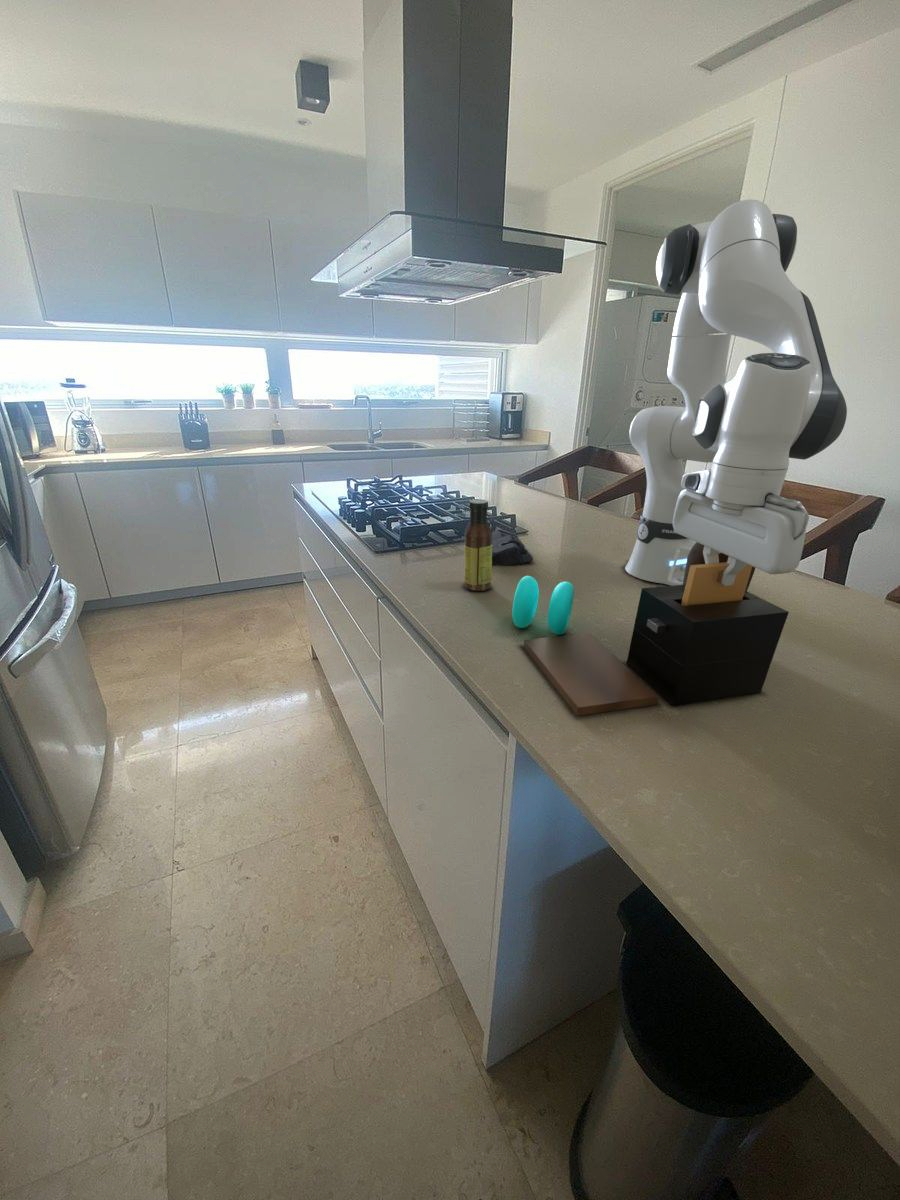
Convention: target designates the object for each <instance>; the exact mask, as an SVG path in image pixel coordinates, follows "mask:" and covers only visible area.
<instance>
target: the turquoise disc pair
mask: <svg viewBox="0 0 900 1200" xmlns="http://www.w3.org/2000/svg"><path fill="white" fill-rule="evenodd" d="M539 595H540V590H539V585H538V581H537V580H536V578H534V577H533V576H532V575H525V576H523V577H521V578H520V579H519V581H518V583H517V586H516V589H515V591H514V597H513V602H512V611H511V613H512V615H511V616H512V621H513V624H514V625H515V626H516V627H517V628H520V629H524V628H527V627H528V626H529V625H531V623H532V622H533V620H534V618H535V615H536V613H537V609H538V604H539V598H540V597H539ZM574 595H575V588H574V585H573V584H572V583H571V582H569V581H561V582H559V583H558V584H557V585H556V586H555V588H554V589H553V590H552V593H551V597H550V601H549V606H548V613H547V625H548V628H549V630H550V631H551V632H552V633H553V634H554V635H558V636H562V635H564V634H565V633H566V632H567V629H569V624H570V620H571V615H572V609H573V603H574Z"/></svg>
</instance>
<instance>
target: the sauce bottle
mask: <svg viewBox="0 0 900 1200" xmlns="http://www.w3.org/2000/svg"><path fill="white" fill-rule="evenodd" d="M468 507H469V522H468V524H467V525H466V527H465V529H464V543H463V547H464V548H463V566H464V567H463V577H464V578H463V581H464V586H465V588H466V589H467V590H469V591H475V592H484V591H488V590H490V588H491V586H492V578H493V577H492V576H493V575H492V573H493V569H492V568H493V565H492V531H493V530H492V528H491V526H490V524H489V522H488V510H489V509H488V508H489V501H488V499H487V500H486V499H481V498H476V499H471V500H469V501H468Z"/></svg>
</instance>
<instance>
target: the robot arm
mask: <svg viewBox="0 0 900 1200" xmlns="http://www.w3.org/2000/svg"><path fill="white" fill-rule="evenodd" d="M797 242H798V225H797V223H796V220H795V219H794V217H792V216H790V215H787V214H780V213H772V210H771V209H770V207H769V206H768V205H767V204H766V203H764V202H763V201H761V200H758V199H751V198H750V199H749V198H748V199H743V200H739V201H737V202H734V203H732V204H730V205H728V206H726V208H724V209H723V210H722V211H721V212H720V213H719V214H717V216H716V217H715V218H714V219H713V220H710V221H706V222H701V223H697V224H694V225H692V224H691V223H688V224H685V225H682V226H679V227H676V228H673V229H672V230H671V231H670V232H669V233H668V234H667V235H666V237H664V240H663V243H662V244H661V246H660V248H659V252H658V253H657V257H656V262H655V274H656V280H657V282H658V283H657V284H658V288H659V289H660V290H661V291H662V293H665V294H668V295H675V296H679V295H680V294H681V297H680V299H679V304H678V307H677V311H676V315H675V319H674V324H673V329H672V337H671V341H670V348H669V357H668V362H667V363H668V364H667V371H666V373H667V378H668V381H669V382H670V383H671V385H673V386H674V387H675V388H677V389H678V390H680V392H681V394H682V395H683V398H684V402H685V406H675V405H657V406H652V407H647V408H643V409H640V411H639V412H637V414H636V415H635V416H634V418H633V419H632V421H631V423H630V427H629V433H628V437H629V441H630V444H631V446H632V448H634V450H635V451H636V452H637V453H638V455H639V456H640V458H641V461H642V463H643V466H644V470H645V476H646V490H645V498H644V503H643V509H642V510H643V511H642V514H641V515H640V517H639V519H638V520H639V521H638V525H637V533H636V534H637V536H636V539H635V544H634V546H633V550H632V552H631V555H630V557H629V559H628V562H627V564H626V565H625V567H624V570H625V572H627V573H628V574H629V575H631V576H632V577H634V578H638V579H640V580H642V581H647V582H652V583H658V584H663V585H666V586H674V585H683V579H684V573H685V568H686V562H687V557H688V554H689V552H690V550H691V549H692V547H693V546H694V544H695V543H696V542H698V543H700V544H702V545H704V549H703V555H704V560H705V564H712V563H719V557H718V554H720V553H723V554H725V555H728V556H729V557H728V561H727V563H729V564H730V565H729V566H728V567H727V569H726V570H725V571H719V573H718V578H717V582H719V583H721V584H722V585H724V586H729V585H732V584H733V583H734V581H735V577H736V574H738V573H739V572H740V571H741V570H742V569H743V568H744V567H745V566H746V565H747V564H748V565H751V566H753V567H755V569H756V570H757V569H758V570H760V571H762V572H764V573H767V574H770V575H783V574H790V573H791V572H794V571H795V570H796V569H798V567H799V565H800V563H801V558H802V556H803V550H804V547H805V546H804V545H805V540H806V533H807V526H808V523H809V520H810V514H809V513H808V511H807V509H806V507H805V506H804V505H803V503H802V502H801V501H799V500H797V499H790V498H786V497H784V496H781V492H782V490H783V486H784V483H785V479H786V476H787V473H788V469H789V466H790V459H795V460H796V459H797V460H807V459H809V458H812V457H814V456H815V455H818V454H820V453H821V452H823V451H824V450H825V449H827V448H828V447H829V446H831V445H832V444H833V443H834V442H835V441H837V440H838V438H839V437H840V435H841V434H842V432H843V431H844V428H845V426H846V425H845V424H846V421H847V416H848V415H847V414H848V406H847V402H846V399H845V397H844V394H843V392H842V390H841V389H840V387H839V385H838V384H837V381H836V380H835V377H834V375H833V373H832V370H831V366H830V363H829V359H828V355H827V352H826V347H825V345H824V341H823V338H822V334H821V329H820V326H819V324H818V323H819V322H818V319H817V316H816V313H815V310H814V307H813V304H812V302H811V299H810V298H809V296H807V295H806V294H805V293H804V292H803V291H802V290H800V289H799V288H797V287H796V285H795V284H794V283H793V281H791V280H790V277H789V276H788V274H786V272H787V270H788V268H789V266H790V264H791V261H792V260H793V257H794V255H795V252H796V248H797ZM732 336H735V337H739V338H742V339H747V340H749V341H753V342H755V343H758V344H760V345H762V346H765V347H766V348H768V349H770V350H771V351H773V352H765V353H764V352H763V353H756V354H751V355H749V356H747V357H745V358H744V359H742V361H741V362H740V363H739V366H738V369H737V371H736V374H735V376H734V377H732V378H731V379H730V380H729V381H727V379H726V378H727V377H726V375H727V366H728V358H729V350H730V345H731V341H732V340H731V339H732ZM683 460H686V461H692V462H699V463H705V464H706V463H711V467H710V469H709V468H708V469H704V470H699V471H693V472H686V470H685V468H684V465H683Z"/></svg>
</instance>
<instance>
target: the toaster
mask: <svg viewBox="0 0 900 1200" xmlns="http://www.w3.org/2000/svg"><path fill="white" fill-rule="evenodd" d="M685 586H686V585H674V586H671V585H663V586H652V587H641V592H640V596H639V600H638V605H637V610H636V614H635V619H634V620H635V621H634V625H633V630H632V635H631V640H630V644H629V649H628V655H627V659H626V663H625V665H627V666H628V668H629V669H630V670H631V671H632V672H633V673H635V674H636V675H637V676H638V677H639V678H641V680H643V682H644V683H645V684H646V685H648V686H649V687H650V688H651V689H653V691H654V692H655V693H656V694H657V695H658V696H660V697H662V699H664V701H666V702H667V703H668V704H669V705H670V706H671V707H676V706H678V707H679V706H683V705H689V704H697V703H704V702H709V701H710V702H711V701H715V700H716V701H717V700H723V699H728V698H729V699H730V698H736V697H742V696H749V695H755V694H761V693H762V690H763V687H764V684H765V681H766V678H767V675H768V673H769V670H770V667H771V664H772V661H773V658H774V656H775V653H776V650H777V647H778V644H779V641H780V638H781V636H782V633H783V630H784V627H785V625H786V622H787V619H788V615H789V613H790V611H788V610H786V609H784V608H781V607H780V606H778V605H776V604H774V603H771V602H769V601H767V600H766V599H764V598H761V597H760V596H757V595H755V594H753V593H751V592H750V591H748V590H747V591H745V593H744V596H743V600H739V601H729V602H718V603H708V604H698V605H687V606H682V605H681V603H682V598H683V594H684V590H685Z"/></svg>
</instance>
